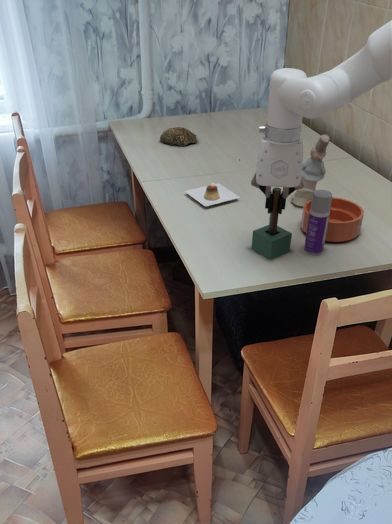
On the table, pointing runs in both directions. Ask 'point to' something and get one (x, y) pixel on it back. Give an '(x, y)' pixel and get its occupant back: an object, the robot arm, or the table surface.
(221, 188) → the dessert
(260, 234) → the holder
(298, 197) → the figurine
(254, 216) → the table surface
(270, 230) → the stick
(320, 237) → the container
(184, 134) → the brown rock
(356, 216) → the bowl
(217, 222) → the table surface
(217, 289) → the table surface
